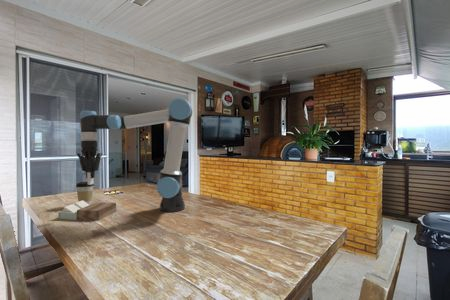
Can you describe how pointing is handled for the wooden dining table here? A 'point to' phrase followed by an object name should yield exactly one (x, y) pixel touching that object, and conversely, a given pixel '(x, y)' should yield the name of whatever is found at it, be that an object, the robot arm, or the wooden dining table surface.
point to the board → (96, 211)
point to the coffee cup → (85, 192)
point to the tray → (67, 216)
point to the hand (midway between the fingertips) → (90, 184)
